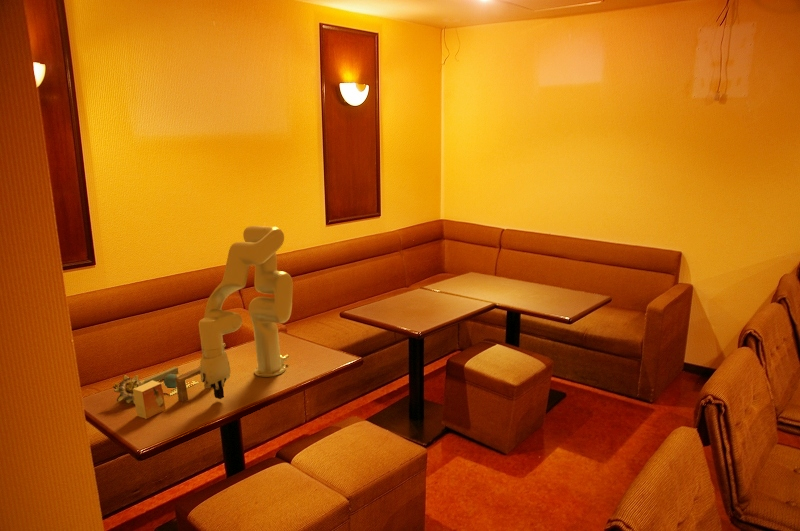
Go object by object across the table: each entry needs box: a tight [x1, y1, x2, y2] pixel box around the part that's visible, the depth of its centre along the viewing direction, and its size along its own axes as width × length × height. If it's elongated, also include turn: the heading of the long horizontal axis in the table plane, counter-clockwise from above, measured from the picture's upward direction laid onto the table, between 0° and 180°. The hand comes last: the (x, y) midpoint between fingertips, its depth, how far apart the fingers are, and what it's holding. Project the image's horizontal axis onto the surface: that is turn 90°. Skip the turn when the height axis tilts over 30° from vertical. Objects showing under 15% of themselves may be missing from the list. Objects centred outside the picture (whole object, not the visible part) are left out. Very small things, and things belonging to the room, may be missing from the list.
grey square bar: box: [143, 366, 179, 384], centre depth 226 cm, size 16×2×2 cm, turn 146°
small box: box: [133, 380, 166, 420], centre depth 199 cm, size 8×6×10 cm
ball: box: [163, 374, 179, 388], centre depth 219 cm, size 6×6×6 cm
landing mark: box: [169, 380, 200, 397], centre depth 221 cm, size 13×13×1 cm
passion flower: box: [112, 374, 145, 405], centre depth 210 cm, size 11×11×12 cm
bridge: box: [175, 366, 201, 403], centre depth 213 cm, size 3×14×9 cm, turn 146°
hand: (219, 397), depth 206 cm, fingers closed
